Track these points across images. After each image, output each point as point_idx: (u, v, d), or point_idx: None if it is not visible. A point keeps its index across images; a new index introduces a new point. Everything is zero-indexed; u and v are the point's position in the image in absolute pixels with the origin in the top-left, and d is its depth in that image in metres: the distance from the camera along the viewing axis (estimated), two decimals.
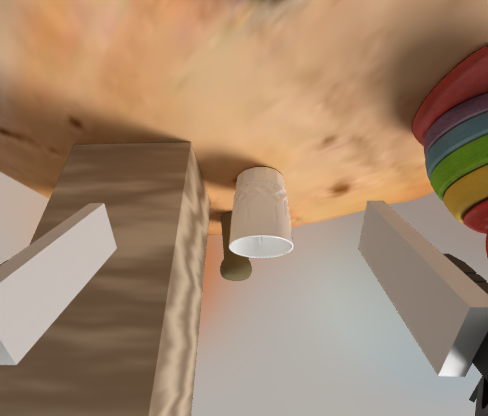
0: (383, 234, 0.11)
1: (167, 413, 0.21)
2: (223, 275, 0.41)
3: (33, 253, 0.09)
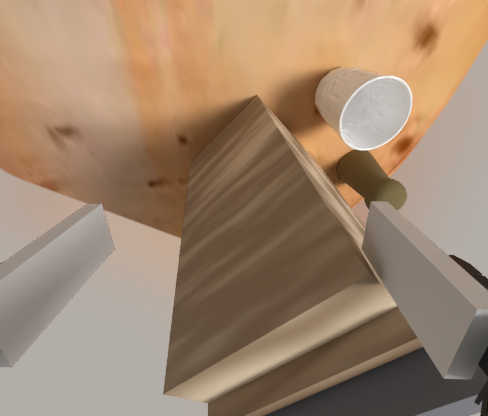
0: (387, 234, 0.11)
1: None
2: None
3: (29, 254, 0.09)
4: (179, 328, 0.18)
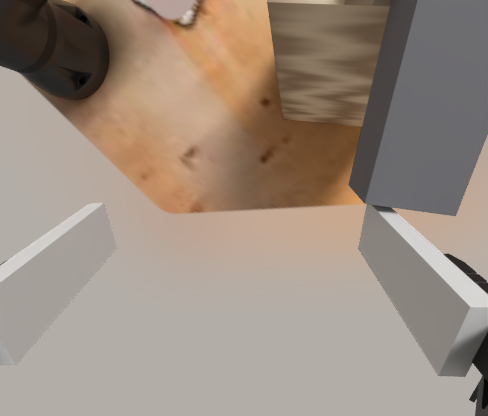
0: (383, 234, 0.11)
1: None
2: None
3: (33, 253, 0.09)
4: None
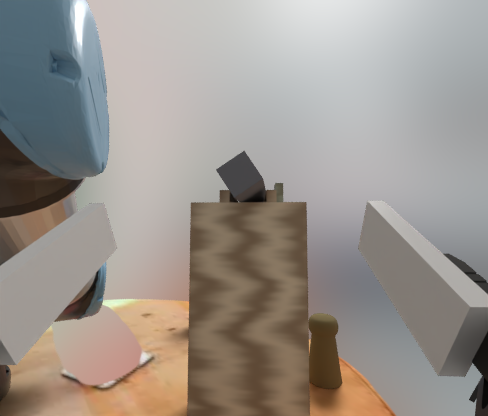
0: (383, 233, 0.11)
1: None
2: (320, 321, 0.45)
3: (33, 253, 0.09)
4: None
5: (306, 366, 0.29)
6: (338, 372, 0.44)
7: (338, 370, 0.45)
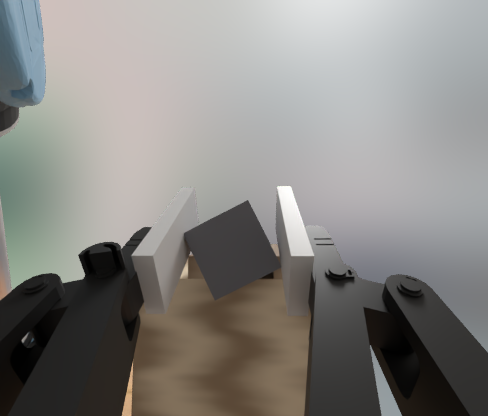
0: (279, 212, 0.13)
1: None
2: None
3: (168, 224, 0.11)
4: None
5: None
6: None
7: None
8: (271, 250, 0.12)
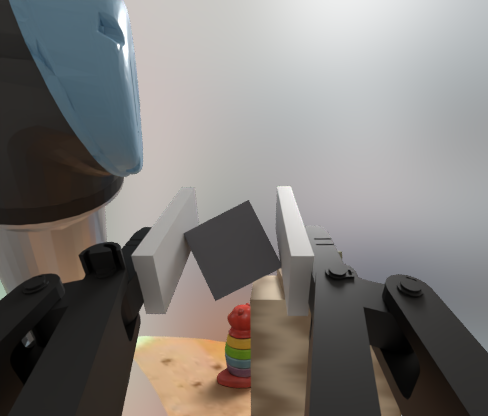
0: (279, 212, 0.13)
1: None
2: None
3: (168, 224, 0.11)
4: None
5: None
6: None
7: None
8: (272, 250, 0.12)
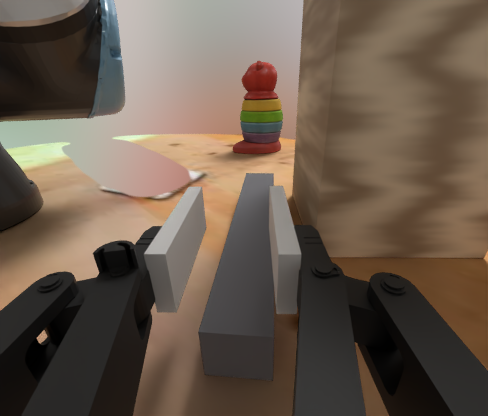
0: (271, 211, 0.13)
1: None
2: None
3: (178, 223, 0.11)
4: None
5: None
6: None
7: None
8: (271, 373, 0.13)
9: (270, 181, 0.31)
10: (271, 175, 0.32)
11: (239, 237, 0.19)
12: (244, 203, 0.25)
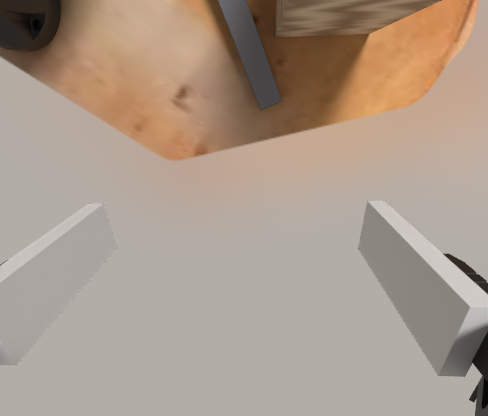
0: (383, 234, 0.11)
1: None
2: None
3: (33, 253, 0.09)
4: None
5: (407, 15, 0.28)
6: None
7: None
8: None
9: None
10: None
11: (244, 51, 0.37)
12: (224, 3, 0.35)
